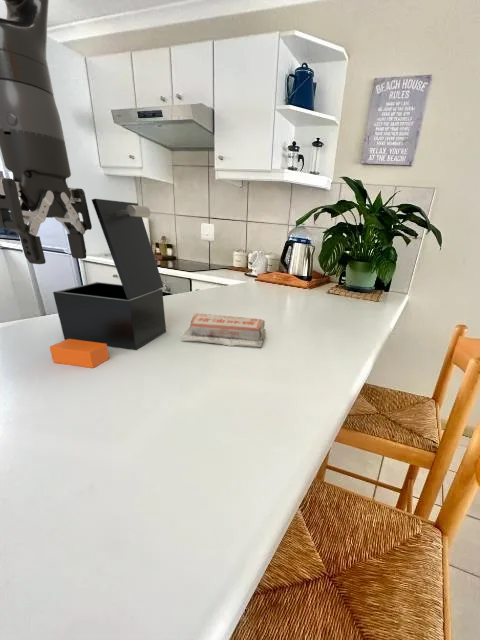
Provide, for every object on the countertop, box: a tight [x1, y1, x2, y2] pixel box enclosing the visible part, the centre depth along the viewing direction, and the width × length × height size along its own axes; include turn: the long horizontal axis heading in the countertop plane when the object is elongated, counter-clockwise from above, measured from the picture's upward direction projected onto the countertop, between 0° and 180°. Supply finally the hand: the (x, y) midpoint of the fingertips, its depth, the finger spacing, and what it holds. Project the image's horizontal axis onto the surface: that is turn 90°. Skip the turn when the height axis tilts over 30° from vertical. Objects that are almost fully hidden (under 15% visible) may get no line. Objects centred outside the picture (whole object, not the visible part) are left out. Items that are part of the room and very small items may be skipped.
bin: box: [52, 281, 167, 351], centre depth 69 cm, size 16×13×10 cm
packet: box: [49, 339, 110, 369], centre depth 58 cm, size 8×4×3 cm, turn 82°
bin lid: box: [91, 198, 164, 299], centre depth 62 cm, size 16×13×5 cm
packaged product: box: [180, 313, 267, 348], centre depth 74 cm, size 18×5×10 cm
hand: (60, 260), depth 51 cm, fingers open, 8 cm apart
